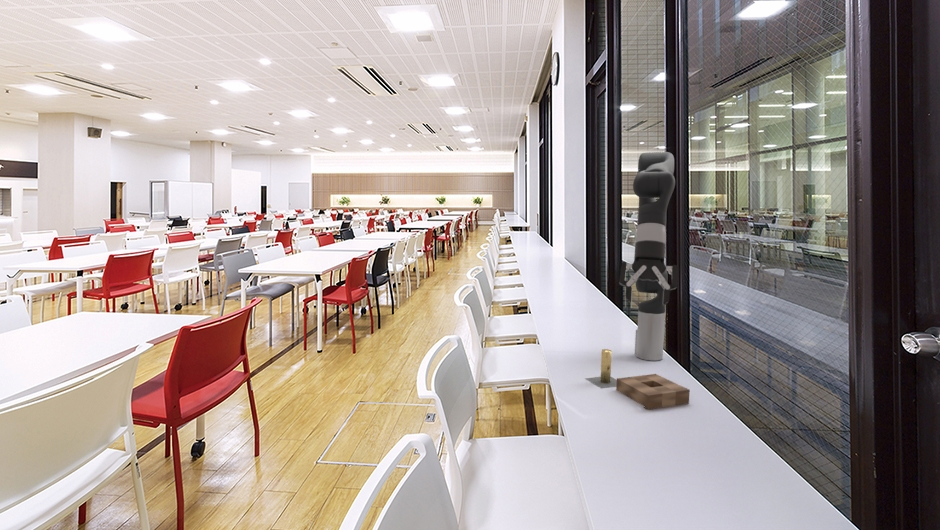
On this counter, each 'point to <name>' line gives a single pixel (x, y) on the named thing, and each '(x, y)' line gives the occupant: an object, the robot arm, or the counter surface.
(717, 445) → the counter surface
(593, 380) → the rubber mat
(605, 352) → the brass pin
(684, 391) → the walnut block
